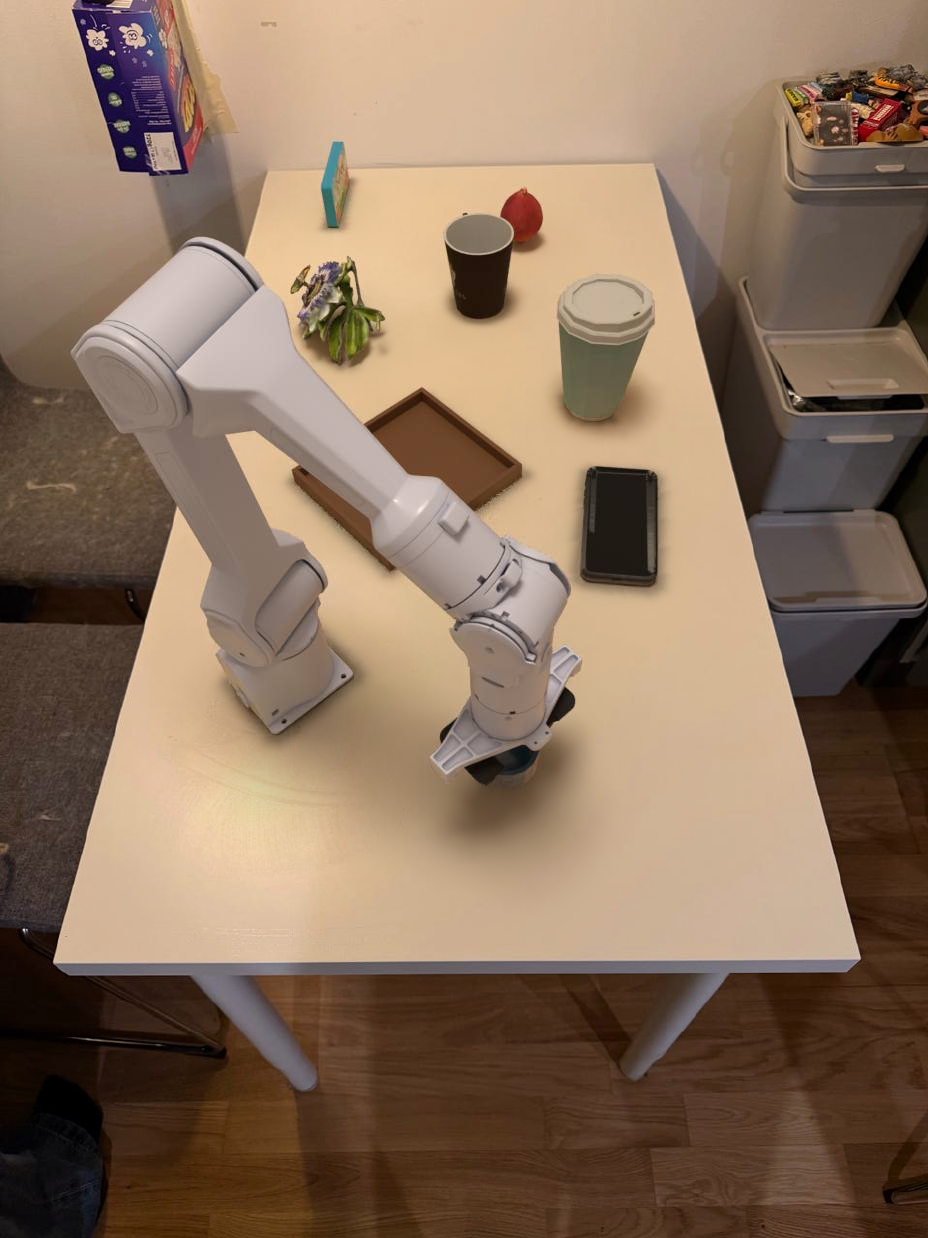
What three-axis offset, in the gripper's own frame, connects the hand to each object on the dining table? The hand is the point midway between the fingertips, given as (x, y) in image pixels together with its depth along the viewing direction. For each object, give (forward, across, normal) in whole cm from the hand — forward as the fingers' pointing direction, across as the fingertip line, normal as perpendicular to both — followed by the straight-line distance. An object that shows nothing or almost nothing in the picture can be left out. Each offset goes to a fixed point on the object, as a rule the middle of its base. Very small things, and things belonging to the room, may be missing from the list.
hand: (506, 754), depth 72 cm
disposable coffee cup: (+4, +40, +27) cm, 48 cm away
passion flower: (+4, +26, +58) cm, 64 cm away
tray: (+4, +16, +33) cm, 37 cm away
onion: (+4, +56, +56) cm, 79 cm away
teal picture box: (+4, +43, +82) cm, 93 cm away
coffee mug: (+4, +44, +51) cm, 67 cm away
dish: (+1, 0, 0) cm, 1 cm away
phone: (+4, +28, +12) cm, 31 cm away
